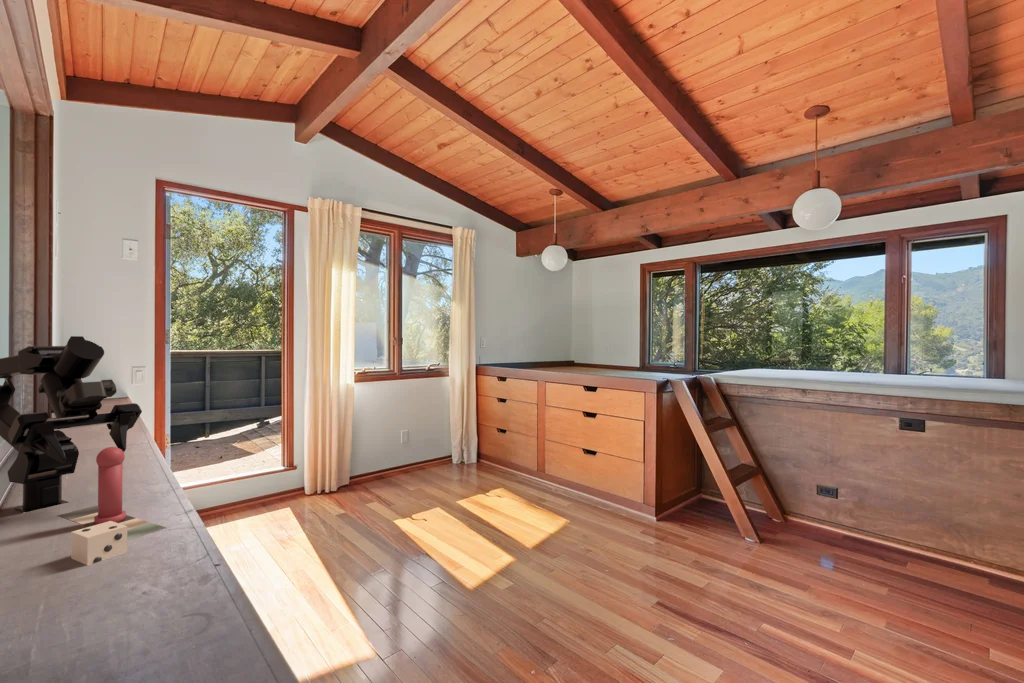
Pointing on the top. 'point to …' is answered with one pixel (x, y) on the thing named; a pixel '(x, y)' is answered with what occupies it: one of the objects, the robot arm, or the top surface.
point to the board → (133, 524)
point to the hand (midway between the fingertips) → (95, 455)
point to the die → (98, 542)
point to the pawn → (110, 486)
